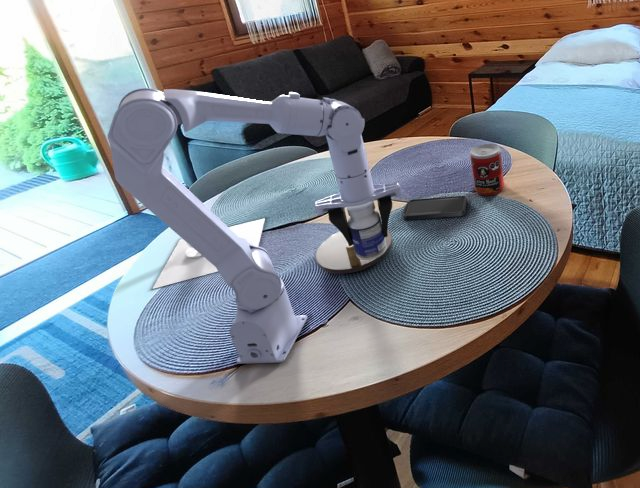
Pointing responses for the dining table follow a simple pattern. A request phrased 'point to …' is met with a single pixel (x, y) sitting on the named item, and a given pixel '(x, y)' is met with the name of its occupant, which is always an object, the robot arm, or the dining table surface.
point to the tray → (344, 255)
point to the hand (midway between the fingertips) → (368, 238)
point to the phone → (435, 207)
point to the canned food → (487, 169)
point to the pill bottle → (366, 231)
